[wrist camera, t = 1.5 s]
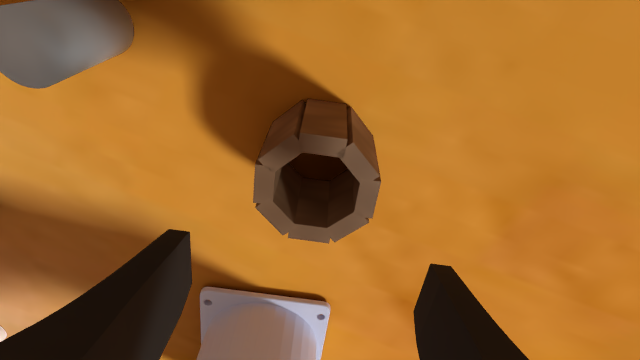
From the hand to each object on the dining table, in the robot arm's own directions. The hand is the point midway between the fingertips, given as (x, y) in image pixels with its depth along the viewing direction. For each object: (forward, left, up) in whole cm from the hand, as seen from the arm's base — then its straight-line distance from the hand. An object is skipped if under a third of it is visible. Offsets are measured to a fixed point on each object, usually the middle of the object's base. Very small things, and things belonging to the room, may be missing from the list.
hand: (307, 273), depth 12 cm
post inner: (+4, +10, -9) cm, 14 cm away
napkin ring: (0, 0, -9) cm, 9 cm away
